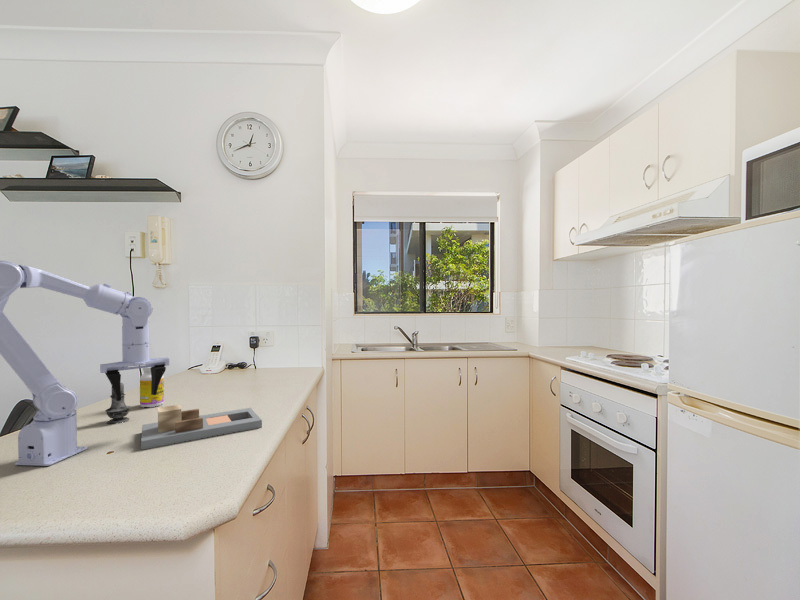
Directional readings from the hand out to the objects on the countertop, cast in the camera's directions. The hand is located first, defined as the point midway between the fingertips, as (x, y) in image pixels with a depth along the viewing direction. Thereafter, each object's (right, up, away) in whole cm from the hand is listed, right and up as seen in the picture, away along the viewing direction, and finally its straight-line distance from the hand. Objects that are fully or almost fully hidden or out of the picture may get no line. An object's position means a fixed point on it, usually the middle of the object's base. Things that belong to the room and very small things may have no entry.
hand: (136, 397), depth 99 cm
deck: (+15, -10, +4) cm, 18 cm away
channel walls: (+12, -8, +2) cm, 14 cm away
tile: (+18, -10, +6) cm, 21 cm away
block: (+9, -8, 0) cm, 12 cm away
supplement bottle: (-14, -10, +28) cm, 33 cm away
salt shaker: (-14, -10, +12) cm, 21 cm away
